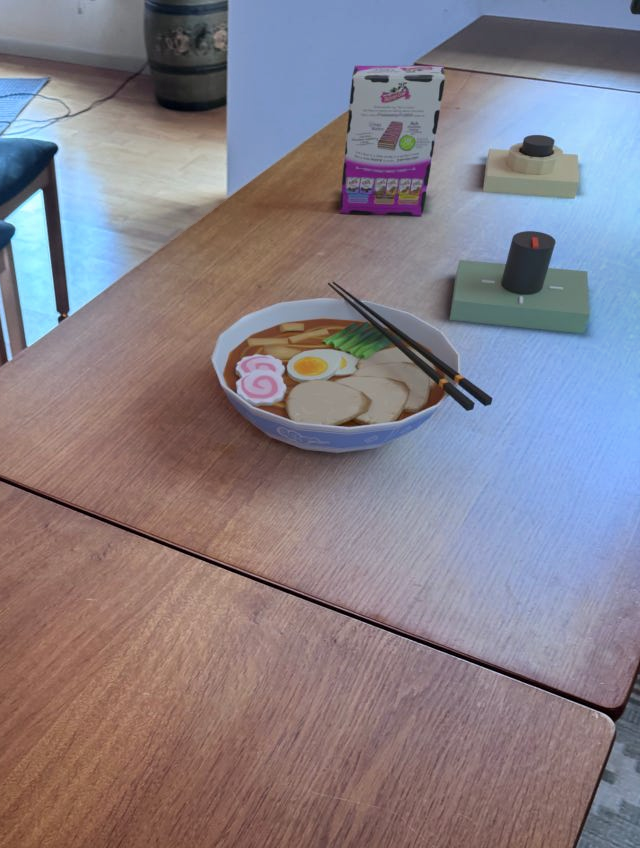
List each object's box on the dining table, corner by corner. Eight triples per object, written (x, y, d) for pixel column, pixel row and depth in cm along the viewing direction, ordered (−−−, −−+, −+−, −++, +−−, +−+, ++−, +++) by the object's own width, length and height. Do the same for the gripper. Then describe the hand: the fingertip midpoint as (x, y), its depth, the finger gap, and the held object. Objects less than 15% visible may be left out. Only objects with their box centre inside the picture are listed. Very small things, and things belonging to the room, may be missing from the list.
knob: (500, 274, 102) (512, 227, 98) (541, 277, 101) (554, 229, 97) (501, 293, 99) (514, 244, 95) (543, 295, 98) (558, 247, 94)
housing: (573, 171, 129) (581, 140, 126) (574, 199, 122) (583, 167, 119) (485, 164, 131) (492, 135, 128) (482, 192, 125) (489, 161, 122)
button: (550, 149, 125) (554, 135, 124) (551, 160, 122) (554, 146, 121) (520, 147, 126) (524, 133, 124) (520, 158, 123) (523, 144, 122)
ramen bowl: (171, 387, 94) (169, 313, 88) (365, 340, 99) (376, 267, 93) (278, 532, 78) (284, 453, 72) (503, 467, 83) (526, 389, 77)
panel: (579, 296, 104) (587, 269, 102) (581, 340, 98) (590, 312, 95) (454, 284, 107) (459, 258, 105) (447, 326, 101) (453, 298, 98)
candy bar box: (422, 202, 123) (446, 64, 111) (422, 217, 120) (447, 77, 108) (339, 199, 125) (353, 62, 113) (337, 214, 121) (352, 75, 109)
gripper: (653, -199, 96) (601, -2, 108) (665, -186, 87) (607, 27, 100) (731, -201, 94) (669, -1, 107) (751, -187, 86) (681, 29, 98)
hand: (639, 12), depth 103 cm, fingers closed
